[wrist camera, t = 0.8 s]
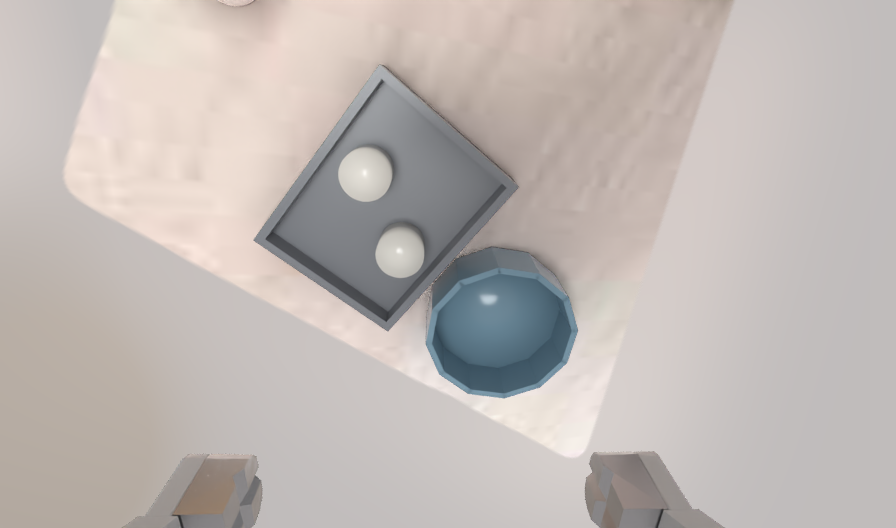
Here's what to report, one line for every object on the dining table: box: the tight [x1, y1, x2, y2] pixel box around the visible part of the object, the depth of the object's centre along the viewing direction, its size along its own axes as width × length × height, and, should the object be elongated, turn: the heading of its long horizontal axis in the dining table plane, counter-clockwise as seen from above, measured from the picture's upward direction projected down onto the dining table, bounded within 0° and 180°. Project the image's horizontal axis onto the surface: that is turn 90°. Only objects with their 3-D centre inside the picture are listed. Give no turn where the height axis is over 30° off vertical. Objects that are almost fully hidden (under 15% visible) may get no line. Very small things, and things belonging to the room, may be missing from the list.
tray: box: [254, 64, 519, 331], centre depth 42 cm, size 20×16×3 cm
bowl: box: [426, 247, 578, 398], centre depth 46 cm, size 15×15×6 cm
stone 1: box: [338, 144, 394, 202], centre depth 40 cm, size 5×5×3 cm
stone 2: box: [375, 222, 425, 278], centre depth 43 cm, size 5×5×3 cm
